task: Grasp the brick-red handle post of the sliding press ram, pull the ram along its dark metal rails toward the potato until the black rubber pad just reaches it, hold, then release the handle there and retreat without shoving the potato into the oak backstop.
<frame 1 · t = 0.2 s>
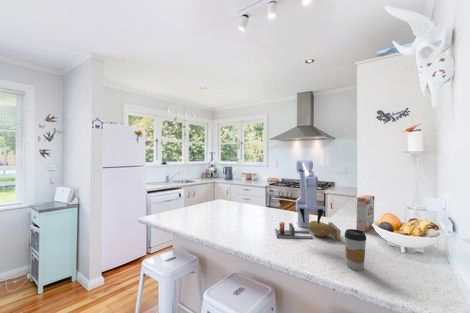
hand: (311, 222, 125), 10 cm above the countertop, fingers open, 7 cm apart
cracker box: (365, 229, 145), on the countertop
ram: (285, 228, 134), point 4 cm above the countertop, slide at 0.0 cm
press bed: (310, 235, 133), on the countertop
potato: (320, 236, 132), on the countertop
coffee cup: (355, 267, 96), on the countertop
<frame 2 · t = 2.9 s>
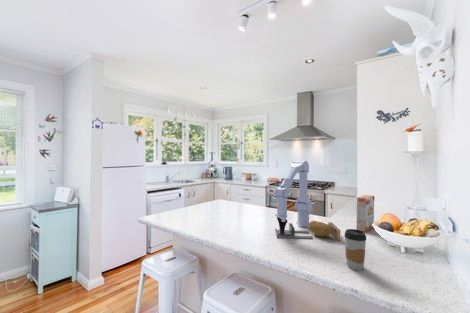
hand: (281, 230, 134), 3 cm above the countertop, fingers closed on ram, 3 cm apart
ram: (285, 228, 134), point 4 cm above the countertop, slide at 0.0 cm, touching gripper
everything else where it was.
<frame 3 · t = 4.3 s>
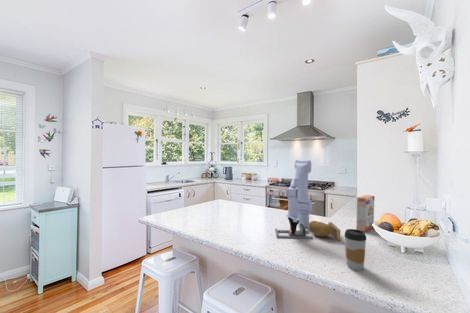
hand: (293, 230, 134), 3 cm above the countertop, fingers closed on ram, 3 cm apart
ram: (296, 228, 134), point 4 cm above the countertop, slide at 6.3 cm, touching gripper
everything else where it was.
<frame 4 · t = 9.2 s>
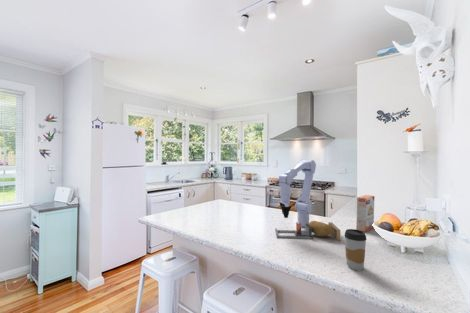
hand: (285, 215, 139), 10 cm above the countertop, fingers open, 7 cm apart
ram: (302, 229, 133), point 4 cm above the countertop, slide at 9.8 cm
everything else where it was.
at the end: ram slide at 9.8 cm; potato moved 0.3 cm from its start; the gripper is holding nothing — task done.
